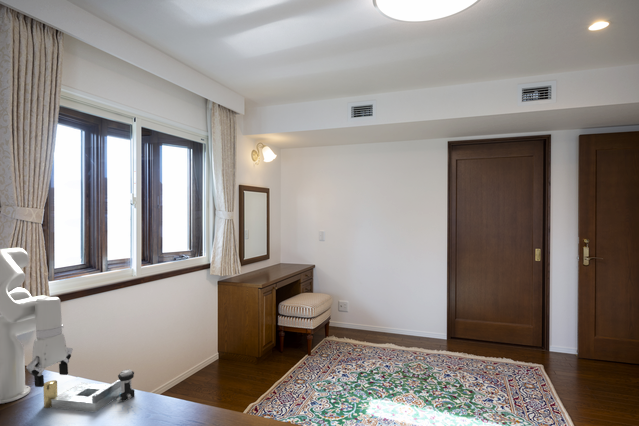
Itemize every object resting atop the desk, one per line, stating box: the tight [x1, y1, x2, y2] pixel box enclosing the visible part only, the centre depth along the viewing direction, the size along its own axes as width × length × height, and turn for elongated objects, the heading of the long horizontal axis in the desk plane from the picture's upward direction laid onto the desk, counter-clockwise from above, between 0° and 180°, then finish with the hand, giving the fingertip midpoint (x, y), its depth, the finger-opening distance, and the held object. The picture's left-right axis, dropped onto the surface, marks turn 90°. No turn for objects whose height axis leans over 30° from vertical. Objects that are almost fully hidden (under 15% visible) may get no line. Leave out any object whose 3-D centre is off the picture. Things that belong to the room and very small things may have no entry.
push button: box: [116, 368, 136, 403], centre depth 138 cm, size 7×5×10 cm
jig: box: [51, 379, 121, 413], centre depth 138 cm, size 18×13×6 cm
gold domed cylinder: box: [42, 380, 58, 409], centre depth 135 cm, size 4×4×8 cm
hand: (52, 380), depth 135 cm, fingers open, 9 cm apart
